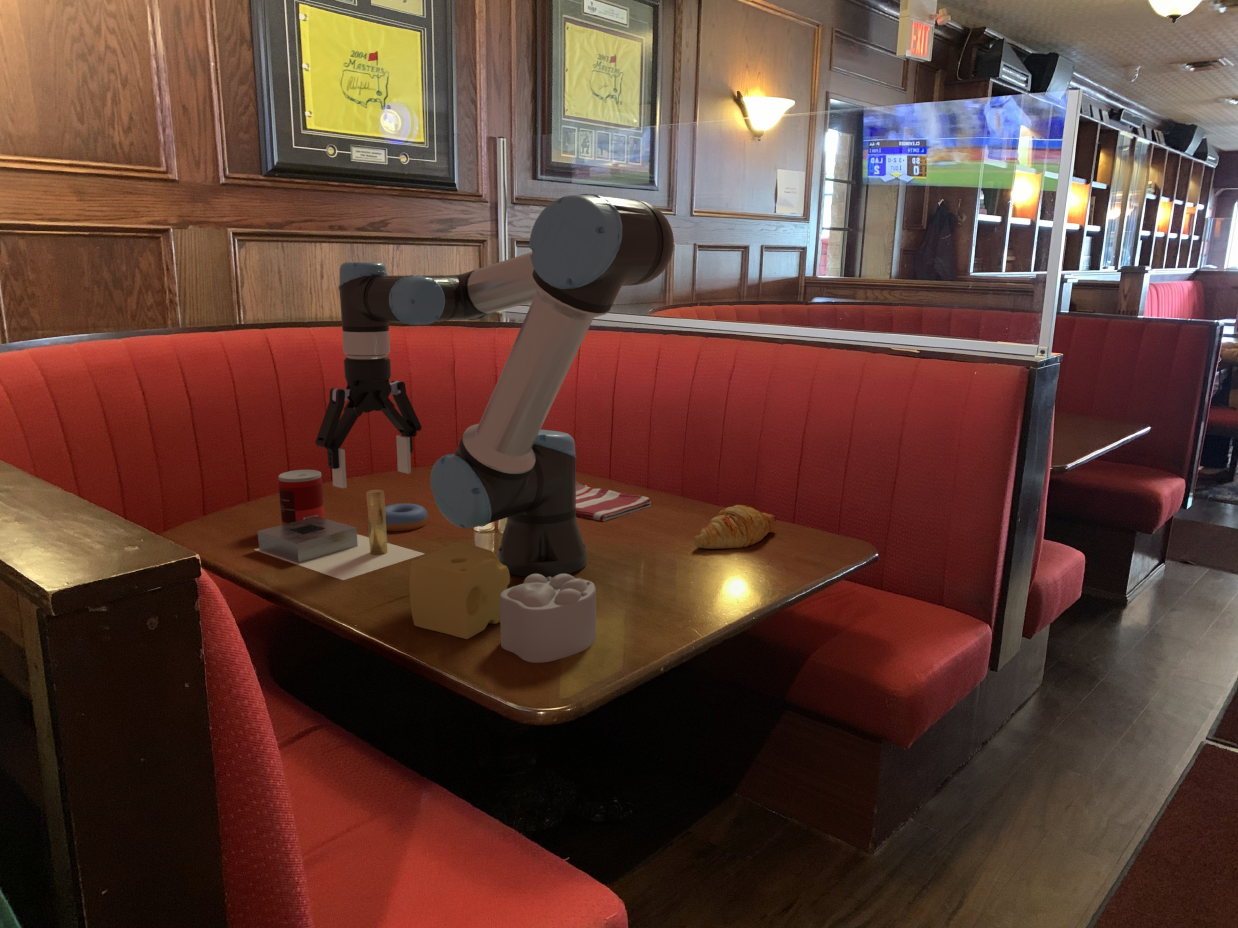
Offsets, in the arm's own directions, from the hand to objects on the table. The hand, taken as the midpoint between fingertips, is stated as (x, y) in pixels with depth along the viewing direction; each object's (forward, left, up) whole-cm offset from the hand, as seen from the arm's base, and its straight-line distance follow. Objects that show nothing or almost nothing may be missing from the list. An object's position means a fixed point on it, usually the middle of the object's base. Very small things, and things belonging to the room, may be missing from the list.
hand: (373, 479), depth 155 cm
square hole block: (+12, +6, -13) cm, 19 cm away
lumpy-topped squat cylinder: (-49, +9, -14) cm, 52 cm away
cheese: (-34, +12, -14) cm, 39 cm away
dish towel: (-7, -49, -14) cm, 52 cm away
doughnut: (+10, -14, -14) cm, 22 cm away
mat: (+6, +4, -14) cm, 15 cm away
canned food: (+24, -1, -14) cm, 27 cm away
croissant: (-46, -46, -14) cm, 66 cm away
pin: (0, 0, -13) cm, 13 cm away
